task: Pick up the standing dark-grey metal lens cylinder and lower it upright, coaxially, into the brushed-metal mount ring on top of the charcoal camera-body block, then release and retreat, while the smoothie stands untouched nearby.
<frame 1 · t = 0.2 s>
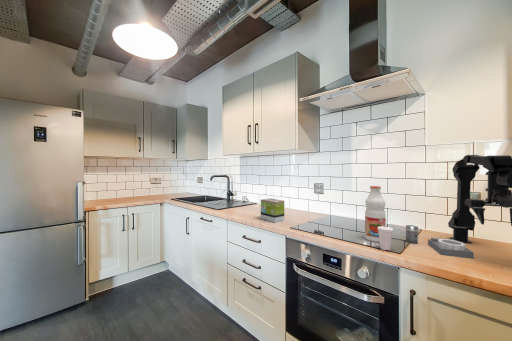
hand: (497, 225, 87), 15 cm above the countertop, fingers open, 9 cm apart
lens: (411, 242, 111), on the countertop
fruit juice: (374, 239, 114), on the countertop
tea box: (272, 220, 157), on the countertop
camera body: (448, 250, 99), on the countertop
smoothie: (385, 249, 100), on the countertop
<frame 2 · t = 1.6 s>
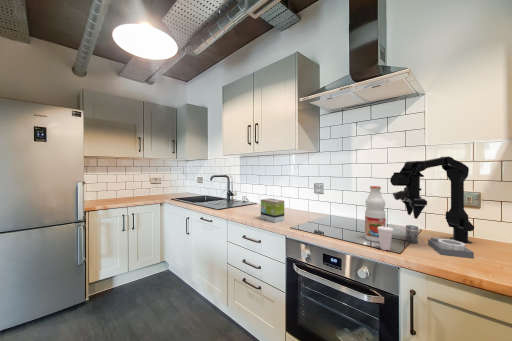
hand: (412, 216, 110), 13 cm above the countertop, fingers open, 9 cm apart
nothing on the countertop moved.
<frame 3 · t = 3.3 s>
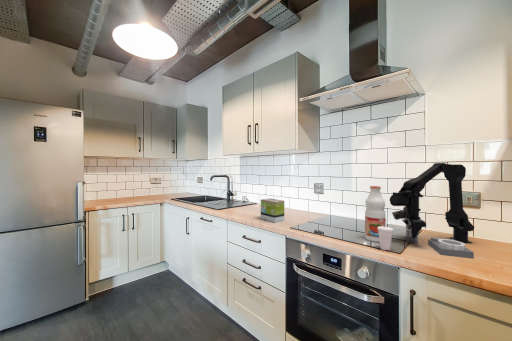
hand: (411, 236, 110), 3 cm above the countertop, fingers closed on lens, 5 cm apart
lens: (411, 242, 111), on the countertop, touching gripper
everything else where it was.
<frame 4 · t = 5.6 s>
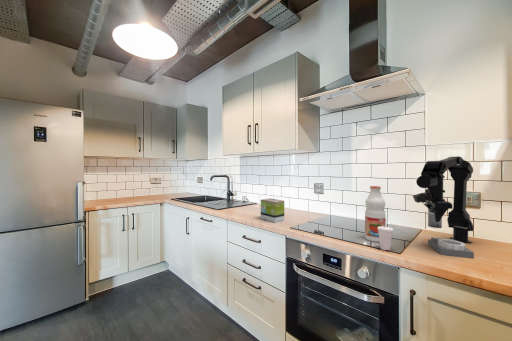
hand: (434, 220, 102), 13 cm above the countertop, fingers closed on lens, 5 cm apart
lens: (434, 226, 102), point 10 cm above the countertop, touching gripper
everything else where it was.
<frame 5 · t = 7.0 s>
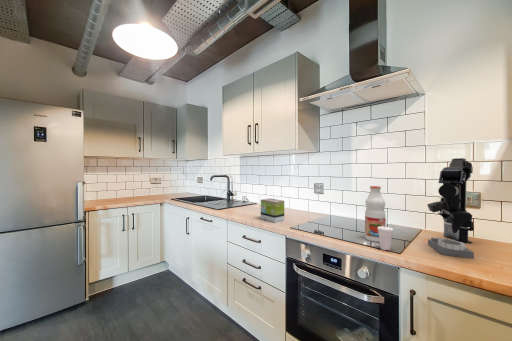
hand: (451, 231, 97), 9 cm above the countertop, fingers closed on lens, 5 cm apart
lens: (451, 237, 97), point 7 cm above the countertop, touching gripper
everything else where it was.
when the fingers open (6 cm above the countertop, at t = 8.1 s): lens stays where it is, resting on camera body.
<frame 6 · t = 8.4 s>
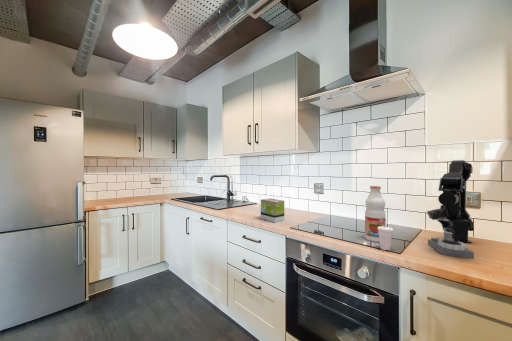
hand: (451, 238, 97), 6 cm above the countertop, fingers open, 8 cm apart
lens: (451, 246, 97), point 3 cm above the countertop, touching camera body
everything else where it was.
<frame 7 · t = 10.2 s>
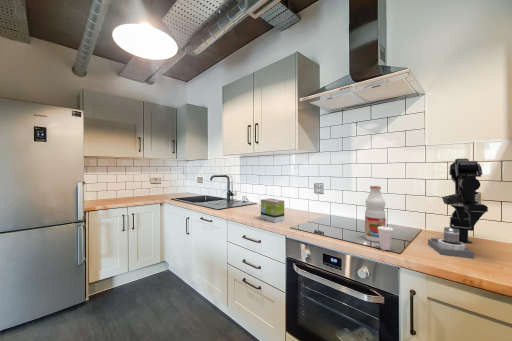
hand: (466, 223, 98), 13 cm above the countertop, fingers open, 9 cm apart
nothing on the countertop moved.
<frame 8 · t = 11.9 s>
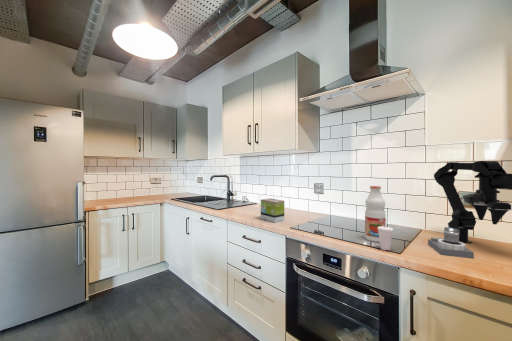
hand: (487, 222, 100), 13 cm above the countertop, fingers open, 9 cm apart
nothing on the countertop moved.
at the end: lens 0.1 cm from the target spot on the camera body, point 2.5 cm above the camera body's base; lens tilted 1°; the gripper is holding nothing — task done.
